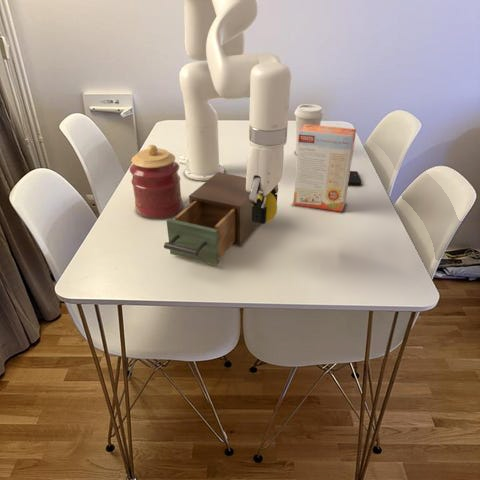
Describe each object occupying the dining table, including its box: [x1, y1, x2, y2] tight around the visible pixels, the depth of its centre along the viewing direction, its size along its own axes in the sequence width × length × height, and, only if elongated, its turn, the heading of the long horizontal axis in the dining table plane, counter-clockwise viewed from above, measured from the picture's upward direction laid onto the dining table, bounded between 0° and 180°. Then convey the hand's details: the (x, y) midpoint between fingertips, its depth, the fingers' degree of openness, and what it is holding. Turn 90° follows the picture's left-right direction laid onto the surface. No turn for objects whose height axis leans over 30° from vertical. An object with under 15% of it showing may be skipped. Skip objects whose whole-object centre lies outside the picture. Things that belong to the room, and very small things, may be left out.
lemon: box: [258, 191, 278, 224], centre depth 102 cm, size 6×6×8 cm
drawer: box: [163, 200, 237, 267], centre depth 108 cm, size 20×12×9 cm, turn 156°
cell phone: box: [348, 170, 362, 186], centre depth 144 cm, size 9×18×1 cm, turn 87°
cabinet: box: [188, 172, 263, 247], centre depth 118 cm, size 16×14×11 cm
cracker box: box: [293, 124, 357, 212], centre depth 124 cm, size 14×6×21 cm, turn 71°
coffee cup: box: [294, 103, 324, 155], centre depth 156 cm, size 10×10×15 cm
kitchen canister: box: [129, 144, 183, 219], centre depth 123 cm, size 13×13×18 cm
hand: (264, 215), depth 103 cm, fingers closed on lemon, 5 cm apart
